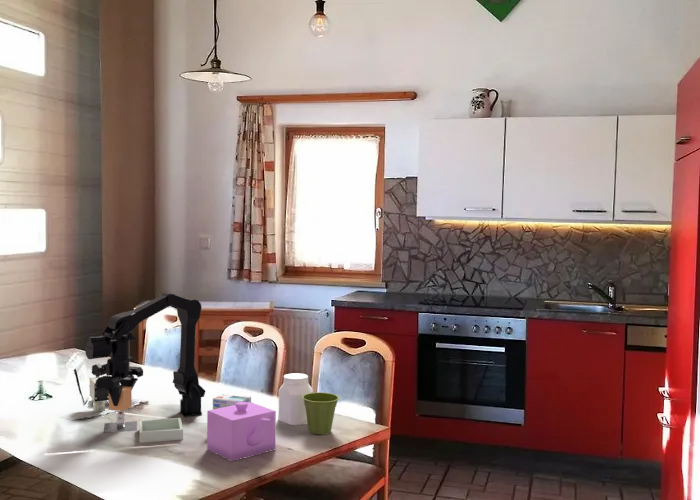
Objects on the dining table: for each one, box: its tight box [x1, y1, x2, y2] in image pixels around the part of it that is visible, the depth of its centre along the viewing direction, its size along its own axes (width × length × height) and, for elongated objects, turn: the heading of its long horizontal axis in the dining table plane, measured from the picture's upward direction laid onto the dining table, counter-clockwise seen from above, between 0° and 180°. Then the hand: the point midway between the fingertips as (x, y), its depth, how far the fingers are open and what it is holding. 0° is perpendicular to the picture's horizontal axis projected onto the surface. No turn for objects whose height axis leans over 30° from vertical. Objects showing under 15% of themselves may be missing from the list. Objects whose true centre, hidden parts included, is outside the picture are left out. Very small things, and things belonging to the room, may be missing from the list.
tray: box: [138, 417, 184, 443], centre depth 220 cm, size 13×13×4 cm
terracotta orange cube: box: [108, 386, 132, 412], centre depth 227 cm, size 5×5×6 cm
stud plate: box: [102, 411, 138, 434], centre depth 227 cm, size 10×10×6 cm
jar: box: [277, 372, 314, 426], centre depth 240 cm, size 12×10×15 cm
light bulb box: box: [212, 393, 252, 410], centre depth 228 cm, size 11×7×11 cm, turn 71°
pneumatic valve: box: [88, 376, 109, 413], centre depth 246 cm, size 6×12×12 cm, turn 30°
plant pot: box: [302, 391, 340, 435], centre depth 228 cm, size 12×12×11 cm
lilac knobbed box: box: [206, 401, 277, 462], centre depth 208 cm, size 15×25×14 cm, turn 43°
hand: (120, 403), depth 227 cm, fingers closed on terracotta orange cube, 5 cm apart
